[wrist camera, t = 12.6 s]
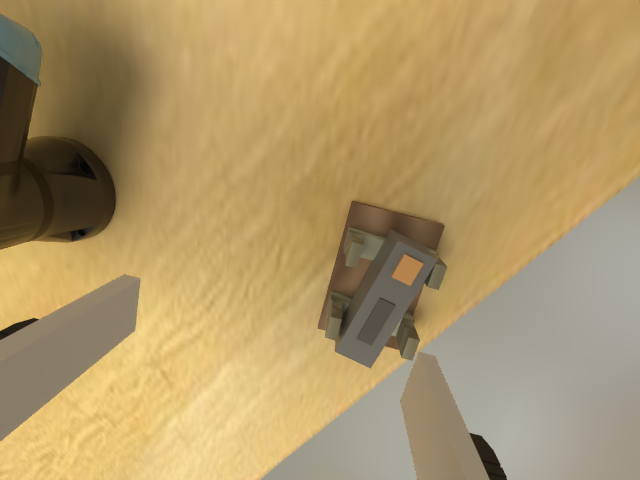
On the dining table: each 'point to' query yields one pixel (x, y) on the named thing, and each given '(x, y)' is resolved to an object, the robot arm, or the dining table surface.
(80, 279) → the dining table surface
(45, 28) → the dining table surface
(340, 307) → the rack
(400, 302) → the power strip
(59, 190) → the robot arm
